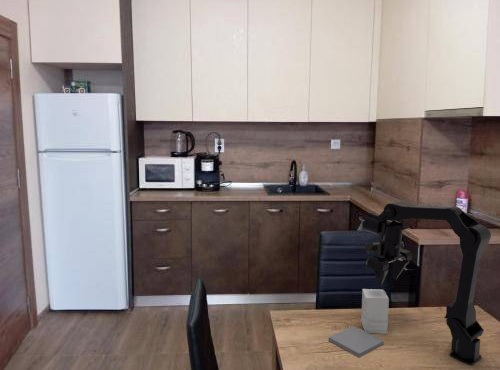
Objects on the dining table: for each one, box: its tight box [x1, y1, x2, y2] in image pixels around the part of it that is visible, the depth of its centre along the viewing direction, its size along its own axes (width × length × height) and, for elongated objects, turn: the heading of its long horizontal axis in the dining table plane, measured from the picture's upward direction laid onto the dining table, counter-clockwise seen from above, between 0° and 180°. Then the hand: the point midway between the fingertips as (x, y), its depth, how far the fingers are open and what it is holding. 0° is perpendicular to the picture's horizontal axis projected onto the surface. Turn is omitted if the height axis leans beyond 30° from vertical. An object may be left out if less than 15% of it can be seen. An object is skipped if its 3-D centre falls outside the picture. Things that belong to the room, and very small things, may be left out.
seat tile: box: [328, 325, 385, 358], centre depth 129 cm, size 12×12×1 cm
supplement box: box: [360, 288, 390, 335], centre depth 137 cm, size 7×7×13 cm
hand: (387, 282), depth 139 cm, fingers open, 9 cm apart
